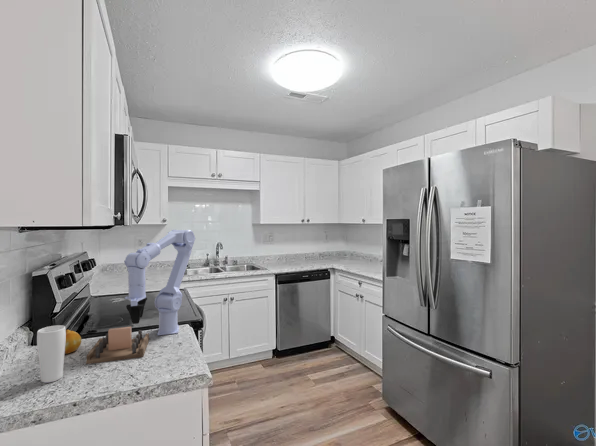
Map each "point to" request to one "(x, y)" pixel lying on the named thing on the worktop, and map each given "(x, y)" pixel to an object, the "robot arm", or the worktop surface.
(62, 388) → the worktop surface
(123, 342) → the pink square slab
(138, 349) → the rack
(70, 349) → the fruit
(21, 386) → the worktop surface
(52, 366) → the drinking glass
